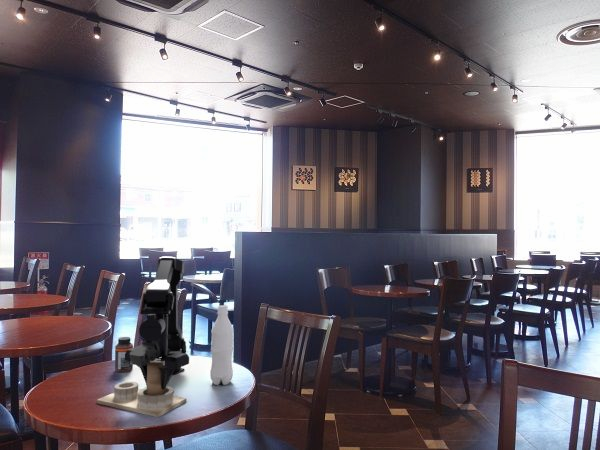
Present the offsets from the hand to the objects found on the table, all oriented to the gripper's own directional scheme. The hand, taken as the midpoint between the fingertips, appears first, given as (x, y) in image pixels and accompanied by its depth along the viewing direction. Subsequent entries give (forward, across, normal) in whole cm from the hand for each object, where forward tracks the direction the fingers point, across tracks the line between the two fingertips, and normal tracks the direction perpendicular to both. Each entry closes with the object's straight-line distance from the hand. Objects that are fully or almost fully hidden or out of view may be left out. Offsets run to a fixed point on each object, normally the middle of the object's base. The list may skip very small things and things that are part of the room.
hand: (156, 387), depth 127 cm
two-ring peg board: (+5, -5, 0) cm, 7 cm away
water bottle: (+5, +6, +24) cm, 25 cm away
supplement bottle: (+5, -32, +20) cm, 38 cm away
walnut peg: (+3, 0, 0) cm, 3 cm away
